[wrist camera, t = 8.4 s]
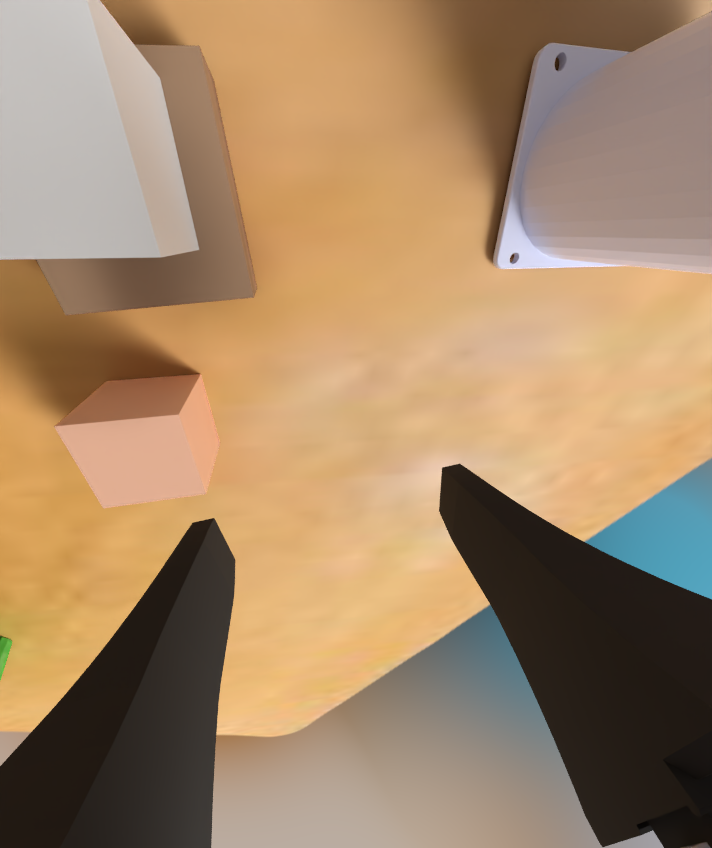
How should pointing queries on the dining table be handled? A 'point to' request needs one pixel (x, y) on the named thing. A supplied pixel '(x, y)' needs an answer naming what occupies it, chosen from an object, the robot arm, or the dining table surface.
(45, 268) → the walnut base
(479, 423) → the dining table surface
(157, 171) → the grey block
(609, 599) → the robot arm
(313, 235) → the dining table surface
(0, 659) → the fruit basket
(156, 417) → the terracotta block
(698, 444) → the dining table surface
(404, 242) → the dining table surface
